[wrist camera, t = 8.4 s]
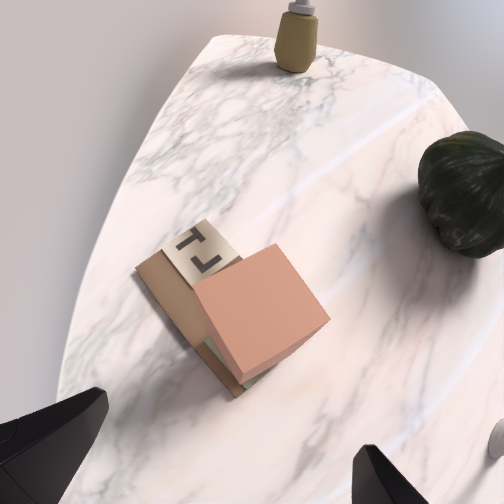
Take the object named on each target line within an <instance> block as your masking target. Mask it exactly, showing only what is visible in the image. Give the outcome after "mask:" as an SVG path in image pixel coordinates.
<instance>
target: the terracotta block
mask: <svg viewBox="0 0 504 504" xmlns="http://www.w3.org/2000/svg"><path fill="white" fill-rule="evenodd" d="M192 287H193V290H194V293H195V296H196V298H197V301H198V304H199V307H200V310H201V313H202V315H203V318H204V321H205V323H206V326H207V329H208V332H209V334H210V336H211V338H212V340H213V342H214V343H215V345H216V347H217V348H218V350H219V352H220V354H221V355H222V357H223V359H224V360H225V362H226V364H227V365H228V367H229V369H230V370H231V372H232V373H233V375H234V377H235V378H236V380H237V382H238V383H239V385H241V384H243V383H244V382H246V381H248V380H250V379H251V378H253V377H255V376H257V375H258V374H260V373H262V372H264V371H265V370H267V369H269V368H270V367H272V366H274V365H275V364H277V363H278V362H280V361H282V360H283V359H285V358H287V357H288V356H290V355H291V354H292V353H293V352H295V351H296V350H297V349H298V348H299V347H300V346H302V345H303V344H304V343H305V342H306V341H307V340H308V339H310V338H311V337H312V336H313V335H314V334H315V333H316V332H317V331H318V330H320V329H321V328H322V327H323V326H324V325H325V324H326V323H327V322H328V321H329V320H330V317H329V316H328V315H327V313H326V312H325V310H324V309H323V307H322V306H321V305H320V303H319V302H318V300H317V299H316V298H315V296H314V295H313V293H312V292H311V291H310V289H309V288H308V286H307V285H306V284H305V282H304V281H303V280H302V278H301V277H300V275H299V274H298V273H297V271H296V270H295V268H294V267H293V266H292V264H291V263H290V262H289V260H288V259H287V257H286V256H285V255H284V253H283V252H282V251H281V249H280V248H279V247H278V245H277V244H276V243H275V244H273V245H271V246H269V247H267V248H265V249H263V250H261V251H259V252H257V253H255V254H253V255H251V256H249V257H247V258H245V259H243V260H242V261H240V262H238V263H236V264H234V265H232V266H230V267H228V268H226V269H224V270H222V271H220V272H218V273H216V274H214V275H212V276H210V277H208V278H206V279H204V280H202V281H200V282H198V283H196V284H194V285H192Z"/></svg>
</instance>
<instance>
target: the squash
mask: <svg viewBox="0 0 504 504" xmlns="http://www.w3.org/2000/svg"><path fill="white" fill-rule="evenodd" d="M418 183H419V188H420V189H419V201H420V204H421V206H422V207H423V209H425V210H426V211H429V213H428V216H429V220H430V222H431V223H432V224H433V225H434V226H436V227H439V234H440V239H441V241H442V243H443V245H444V246H445V247H446V248H447V249H450V250H459V252H460V253H461V254H462V255H464V256H466V257H470V258H476V259H479V258H483V257H486V256H488V255H490V254H492V253H493V252H495V251H496V250H499V249H502V248H504V145H503V144H501V143H499V142H497V141H495V140H493V139H491V138H489V137H487V136H486V135H484V134H481V133H479V132H474V131H463V132H458V133H455V134H453V135H451V136H450V137H445V138H442V139H440V140H438V141H436V142H434V143H433V144H432V145H430V146H429V147H428V148H427V149H426V150H425V152H424V154H423V156H422V158H421V160H420V163H419V168H418Z"/></svg>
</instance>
